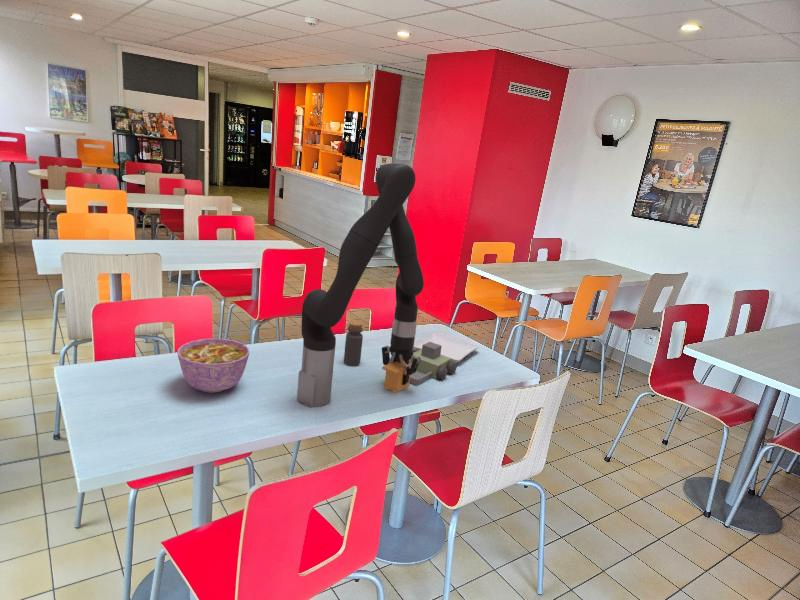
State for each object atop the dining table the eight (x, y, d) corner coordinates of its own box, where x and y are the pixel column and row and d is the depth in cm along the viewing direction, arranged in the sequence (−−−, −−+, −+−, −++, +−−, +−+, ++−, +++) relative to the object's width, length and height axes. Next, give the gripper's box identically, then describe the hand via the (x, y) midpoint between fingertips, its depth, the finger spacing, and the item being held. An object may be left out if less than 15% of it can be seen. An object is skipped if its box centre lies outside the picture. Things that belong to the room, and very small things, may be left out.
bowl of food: (239, 369, 172) (240, 336, 169) (255, 397, 155) (257, 360, 152) (172, 376, 162) (172, 340, 159) (182, 406, 145) (182, 367, 142)
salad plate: (457, 368, 196) (459, 359, 195) (407, 352, 206) (408, 343, 205) (478, 353, 214) (480, 345, 213) (432, 338, 224) (433, 331, 223)
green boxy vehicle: (426, 389, 174) (430, 364, 172) (386, 374, 182) (389, 349, 180) (455, 372, 191) (459, 349, 189) (417, 358, 199) (420, 336, 197)
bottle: (352, 367, 184) (356, 326, 180) (340, 362, 188) (343, 322, 183) (363, 363, 189) (367, 323, 185) (351, 358, 192) (355, 319, 188)
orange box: (392, 394, 168) (395, 371, 165) (379, 389, 170) (382, 366, 168) (408, 386, 175) (411, 363, 173) (396, 381, 178) (399, 358, 176)
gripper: (378, 328, 169) (372, 377, 174) (416, 341, 162) (409, 392, 167) (391, 323, 175) (386, 371, 180) (428, 336, 168) (421, 385, 173)
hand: (397, 381), depth 173 cm, fingers closed on orange box, 5 cm apart
